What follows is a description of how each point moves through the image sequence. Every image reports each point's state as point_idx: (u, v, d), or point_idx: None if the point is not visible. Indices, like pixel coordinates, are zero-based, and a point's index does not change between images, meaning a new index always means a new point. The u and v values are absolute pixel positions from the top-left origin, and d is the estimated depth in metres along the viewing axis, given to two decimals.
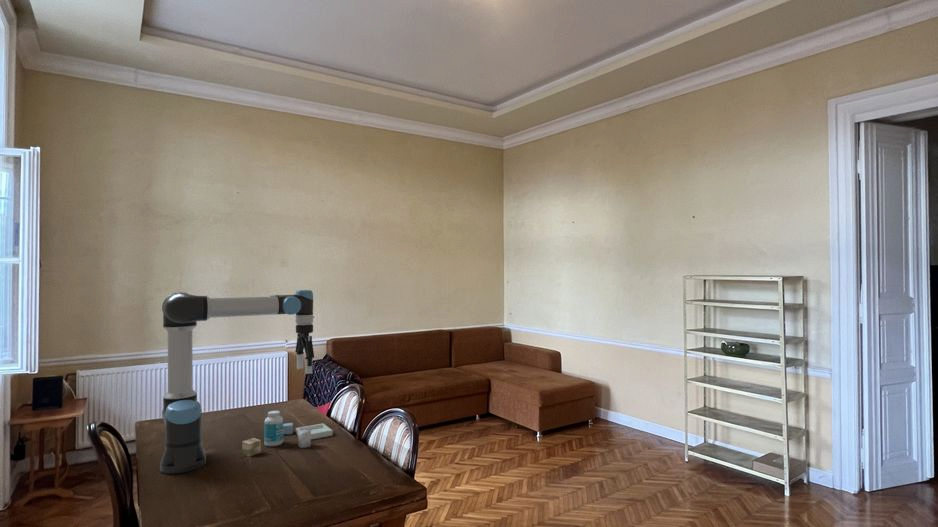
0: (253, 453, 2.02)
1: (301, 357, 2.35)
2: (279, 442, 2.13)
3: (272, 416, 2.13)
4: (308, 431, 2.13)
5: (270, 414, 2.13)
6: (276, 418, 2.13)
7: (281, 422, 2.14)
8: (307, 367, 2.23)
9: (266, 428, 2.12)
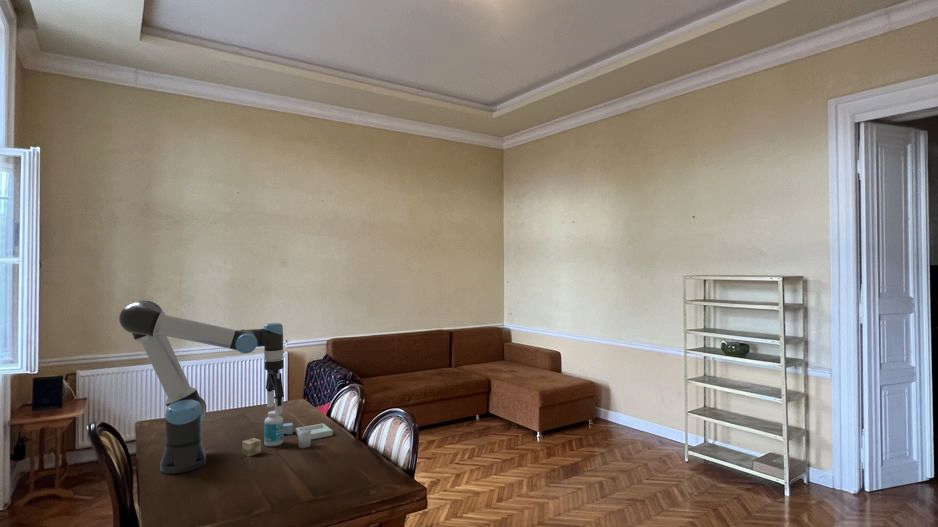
0: (253, 453, 2.02)
1: (272, 394, 2.21)
2: (279, 442, 2.13)
3: (272, 416, 2.13)
4: (308, 431, 2.13)
5: (270, 414, 2.13)
6: (276, 418, 2.13)
7: (281, 422, 2.14)
8: (276, 407, 2.09)
9: (266, 428, 2.12)
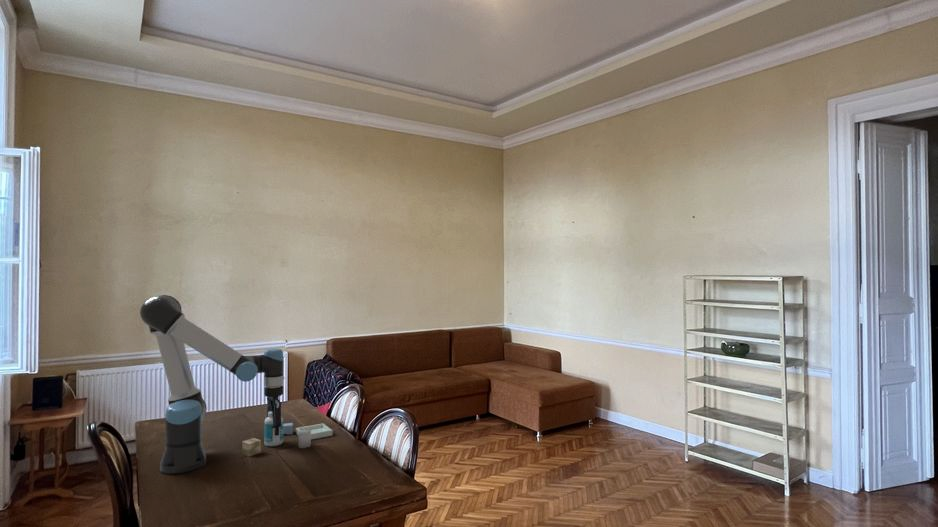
0: (253, 453, 2.02)
1: None
2: (279, 442, 2.13)
3: (272, 416, 2.13)
4: (308, 431, 2.13)
5: (270, 414, 2.13)
6: None
7: (281, 422, 2.14)
8: (273, 436, 2.11)
9: (266, 428, 2.12)
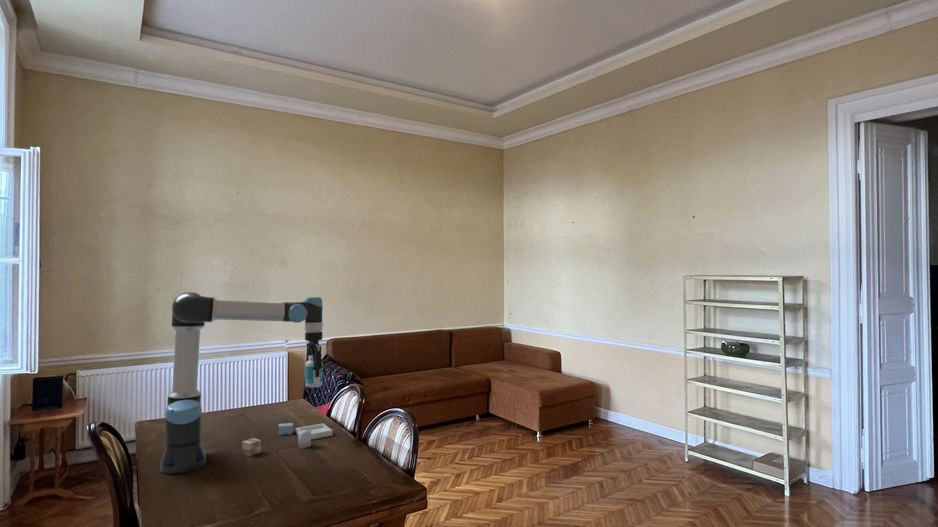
0: (253, 453, 2.02)
1: None
2: (319, 384, 2.26)
3: None
4: (308, 431, 2.13)
5: (311, 357, 2.26)
6: None
7: None
8: (314, 378, 2.24)
9: (307, 370, 2.25)
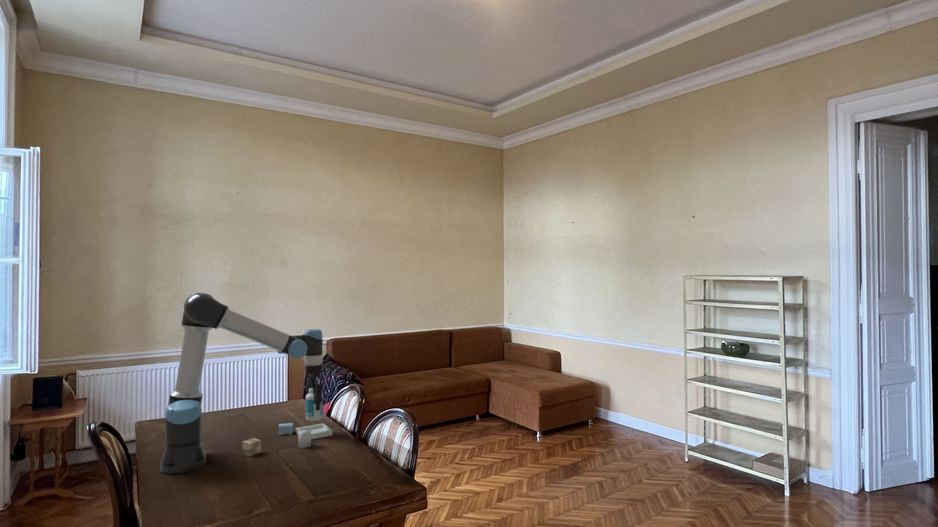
0: (253, 453, 2.02)
1: None
2: (320, 417, 2.26)
3: None
4: (308, 431, 2.13)
5: (311, 390, 2.26)
6: None
7: None
8: (315, 411, 2.24)
9: (307, 403, 2.25)
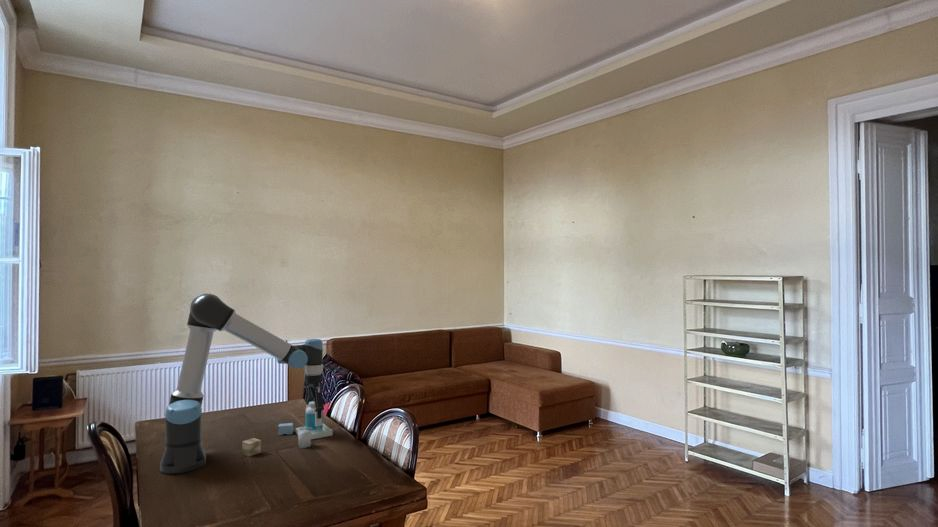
0: (253, 453, 2.02)
1: None
2: (319, 431, 2.25)
3: (313, 406, 2.25)
4: (308, 431, 2.13)
5: (311, 404, 2.25)
6: None
7: None
8: (316, 419, 2.21)
9: (307, 417, 2.24)
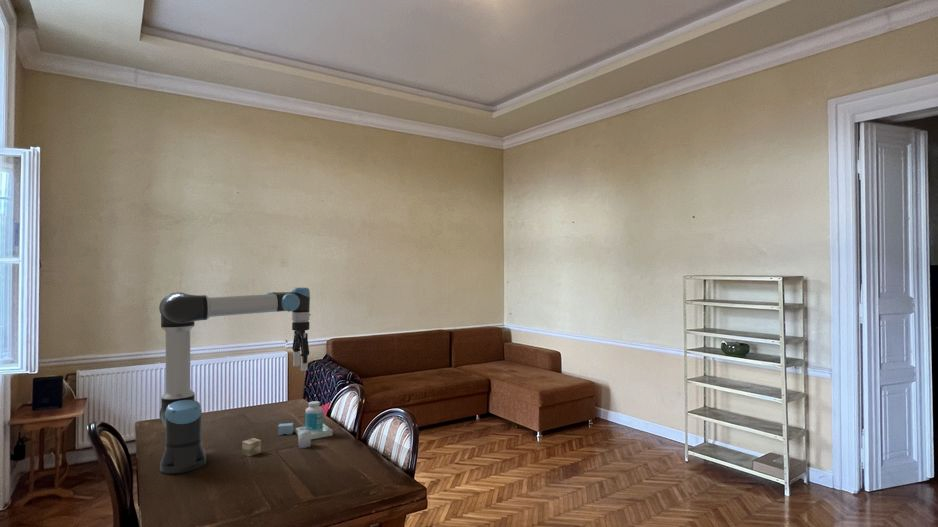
0: (253, 453, 2.02)
1: (298, 354, 2.37)
2: (319, 431, 2.25)
3: (313, 406, 2.25)
4: (308, 431, 2.13)
5: (311, 404, 2.25)
6: (316, 408, 2.26)
7: (321, 412, 2.26)
8: (302, 364, 2.25)
9: (307, 417, 2.24)
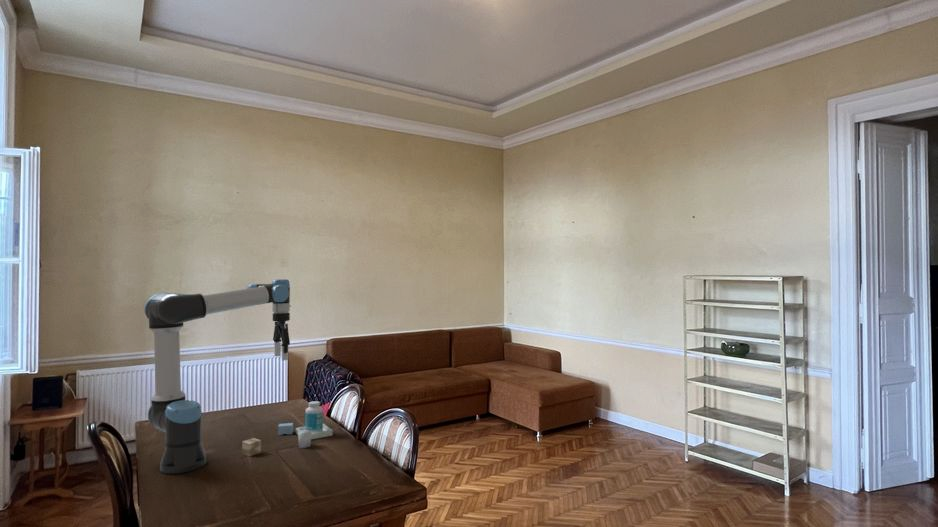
0: (253, 453, 2.02)
1: (278, 345, 2.42)
2: (319, 431, 2.25)
3: (313, 406, 2.25)
4: (308, 431, 2.13)
5: (311, 404, 2.25)
6: (316, 408, 2.26)
7: (321, 412, 2.26)
8: (282, 354, 2.30)
9: (307, 417, 2.24)
